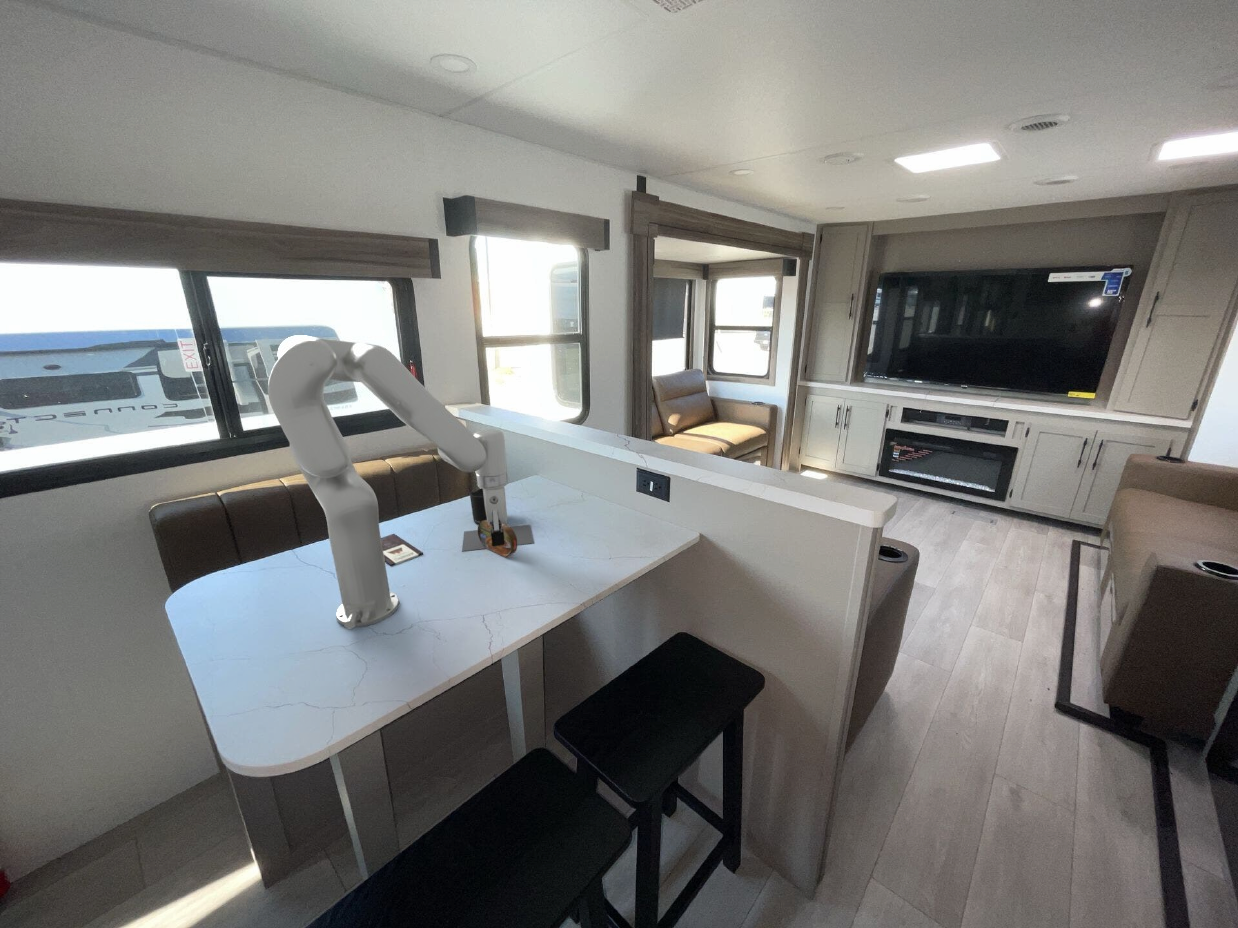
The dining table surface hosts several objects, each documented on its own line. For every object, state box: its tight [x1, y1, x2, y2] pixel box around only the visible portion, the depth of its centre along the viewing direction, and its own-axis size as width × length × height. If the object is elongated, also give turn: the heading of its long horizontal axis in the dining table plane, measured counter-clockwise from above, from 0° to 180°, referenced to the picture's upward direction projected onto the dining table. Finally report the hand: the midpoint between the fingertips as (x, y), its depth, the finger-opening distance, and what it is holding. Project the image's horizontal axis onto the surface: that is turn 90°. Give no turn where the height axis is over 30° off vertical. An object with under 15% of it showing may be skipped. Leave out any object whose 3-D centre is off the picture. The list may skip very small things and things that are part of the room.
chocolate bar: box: [381, 533, 424, 567], centre depth 136 cm, size 9×1×18 cm
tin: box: [477, 520, 518, 558], centre depth 135 cm, size 15×3×8 cm, turn 51°
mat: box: [461, 524, 535, 552], centre depth 144 cm, size 13×20×1 cm, turn 105°
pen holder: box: [469, 488, 487, 526], centre depth 154 cm, size 9×9×10 cm
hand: (498, 544), depth 127 cm, fingers closed
